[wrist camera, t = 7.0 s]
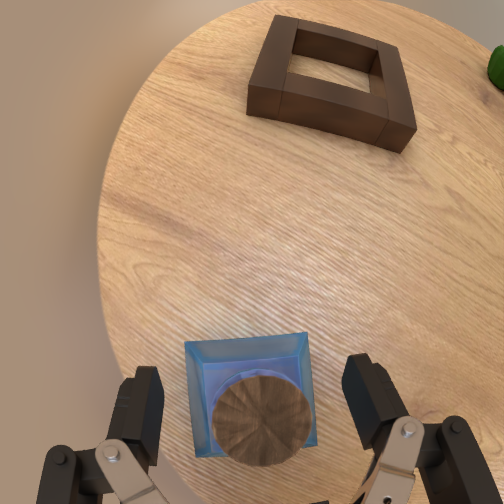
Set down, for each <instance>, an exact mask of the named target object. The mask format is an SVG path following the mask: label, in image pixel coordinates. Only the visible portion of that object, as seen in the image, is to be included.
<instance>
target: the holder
mask: <svg viewBox="0 0 504 504" xmlns="http://www.w3.org/2000/svg"><path fill="white" fill-rule="evenodd" d="M292 53H293V54H298V55H303V56H307V57H312V58H316V59H320V60H324V61H328V62H332V63H336V64H339V65H343V66H346V67H350V68H353V69H357V70H360V71H363V72H366V73H369V82H370V92H371V94H370V93H366V92H363V91H360V90H357V89H353V88H350V87H347V86H343V85H340V84H336V83H332V82H328V81H325V80H321V79H316V78H312V77H308V76H304V75H299V74H294V73H290V72H288V70H289V66H290V61H291V57H292ZM246 115H251V116H257V117H262V118H268V119H273V120H278V121H283V122H288V123H292V124H297V125H301V126H305V127H310V128H314V129H318V130H322V131H326V132H330V133H333V134H337V135H341V136H345V137H348V138H352V139H355V140H359V141H362V142H365V143H369V144H372V145H375V146H378V147H381V148H384V149H387V150H390V151H393V152H396V153H399V154H400V153H401V152H402V150H403V149H404V148H405V146H406V145H407V144H408V142H409V141H410V139H411V138H412V137H413V135H414V134H415V132H416V131H417V126H416V120H415V115H414V110H413V106H412V101H411V97H410V92H409V88H408V84H407V80H406V76H405V72H404V69H403V65H402V62H401V58H400V55H399V51H398V48H397V47H395V46H392V45H390V44H387V43H384V42H381V41H379V40H375V39H373V38H370V37H366V36H363V35H360V34H357V33H354V32H350V31H347V30H343V29H340V28H336V27H332V26H328V25H324V24H320V23H316V22H311V21H307V20H302V19H297V18H292V17H287V16H281V15H275V16H274V19H273V21H272V23H271V26H270V28H269V31H268V34H267V36H266V39H265V41H264V44H263V46H262V49H261V52H260V54H259V57H258V59H257V62H256V65H255V67H254V70H253V73H252V76H251V78H250V81H249V84H248V96H247V112H246Z"/></svg>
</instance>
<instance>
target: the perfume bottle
mask: <svg viewBox="0 0 504 504" xmlns="http://www.w3.org/2000/svg"><path fill="white" fill-rule="evenodd" d="M184 344H185V358H186V371H187V383H188V394H189V404H190V414H191V423H192V432H193V440H194V448H195V455H196V458H198V457H228V456H230V457H231V458H232V459H234V460H235V461H237V462H240V463H243V464H246V465H249V466H261V467H267V466H271V465H275V464H279V463H282V462H284V461H286V460H287V459H289V458H291V457H292V456H294V455H295V454H296V453H297V452H298V451H299V450H300V449H301V448H307V447H312V446H318V445H317V430H316V417H315V405H314V393H313V382H312V372H311V362H310V352H309V343H308V334H307V332H302V333H293V334H283V335H274V336H263V337H251V338H239V339H224V340H208V341H187V342H184Z"/></svg>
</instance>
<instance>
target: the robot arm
mask: <svg viewBox="0 0 504 504" xmlns="http://www.w3.org/2000/svg"><path fill="white" fill-rule="evenodd" d="M342 390H343V393H344V396H345V398H346V401H347V404H348V407H349V409H350V412H351V415H352V417H353V420H354V423H355V426H356V429H357V431H358V434H359V437H360V440H361V443H362V445H363V448H364V450H367V449H371V448H373V451H374V455H373V457H372V459H371V462H370V464H369V466H368V468H367V471H366V473H365V475H364V477H363V479H362V482H361V484H360V486H359V488H358V490H357V491H356V493H355V495H354V496H353V498H352V499H351V501H350V503H349V504H407V502H408V499H409V497H410V494H411V491H412V488H413V485H414V482H415V475H414V474H413V472H414V468H415V467H418V469H419V472H420V475H421V478H422V481H423V484H424V487H425V490H426V493H427V496H428V499H429V502H430V504H503V502H502V499H501V497H500V494H499V492H498V489H497V487H496V484H495V482H494V479H493V477H492V474H491V472H490V470H489V467H488V465H487V463H486V461H485V458H484V456H483V454H482V452H481V450H480V448H479V445H478V443H477V441H476V439H475V437H474V435H473V433H472V431H471V429H470V427H469V425H468V423H467V422H466V420H465V419H463V418H462V417H460V416H449V417H447V418H446V419H445V420H444V421H443V423H438V424H424V423H422V422H421V421H420V420H418V419H417V418H415V417H412V416H410V415H409V413H408V412H407V410H406V408H405V406H404V404H403V402H402V400H401V398H400V396H399V394H398V392H397V390H396V388H395V386H394V384H393V382H392V381H391V378H390V376H389V374H388V373H387V371H386V369H384V368H383V367H382V366H381V365H380V364H379V363H373V364H372V362H371V360H370V358H369V356H368V354H366V353H362V354H355V355H350V356H348V359H347V362H346V366H345V369H344V373H343V376H342ZM163 408H164V389H163V386H162V383H161V380H160V376H159V373H158V370H157V367H156V366H138V367H137V370H136V374H135V378H126V379H125V381H124V382H123V383H122V385H121V386H120V388H119V392H118V395H117V399H116V403H115V407H114V411H113V414H112V418H111V422H110V426H109V431H108V435H107V438H106V439H105V441H103V442H101V443H100V444H99V445H98V446H97V447H96V448H94V449H89V450H83V451H73V450H72V449H71V448H70V447H68V446H65V445H57V446H54V447H52V448H51V449H50V450H49V451H48V453H47V455H46V458H45V462H44V467H43V471H42V476H41V480H40V485H39V491H38V496H37V501H36V504H102V499H103V494H106V493H113V492H115V494H116V495H117V497H118V499H119V500H120V504H170V503H169V502H168V501H167V500H166V498H165V497H164V496H163V495H162V493H161V492H160V491H159V489H158V488H157V487H156V485H155V484H154V483H153V481H152V480H151V479H150V477H149V476H148V468H149V466H157V458H158V449H159V440H160V431H161V423H162V415H163ZM311 504H329V501H328V500H327V501H322V502H317V503H311Z"/></svg>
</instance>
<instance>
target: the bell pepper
mask: <svg viewBox="0 0 504 504" xmlns="http://www.w3.org/2000/svg"><path fill="white" fill-rule="evenodd" d="M487 72H488V74H489V78H490V79H491V81H492V82H493V83H494V84H495V85H496V86H497V87H498V88H500V89H502V90H504V47H503V46H502V45H500V46H498V47H497V48H495V50H494V51H493V53H492V55H491V57H490V60H489V64H488V67H487Z"/></svg>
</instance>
